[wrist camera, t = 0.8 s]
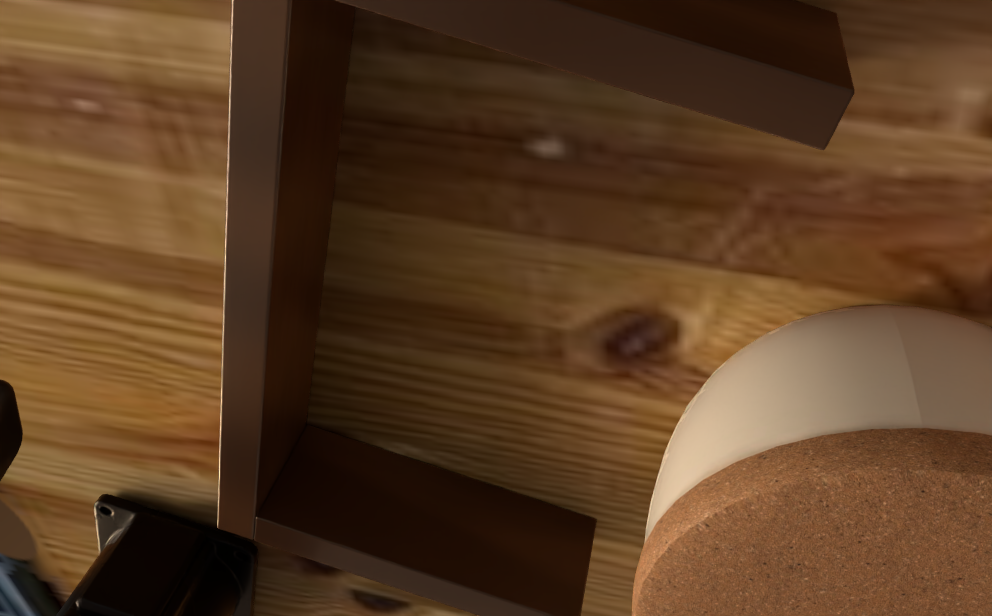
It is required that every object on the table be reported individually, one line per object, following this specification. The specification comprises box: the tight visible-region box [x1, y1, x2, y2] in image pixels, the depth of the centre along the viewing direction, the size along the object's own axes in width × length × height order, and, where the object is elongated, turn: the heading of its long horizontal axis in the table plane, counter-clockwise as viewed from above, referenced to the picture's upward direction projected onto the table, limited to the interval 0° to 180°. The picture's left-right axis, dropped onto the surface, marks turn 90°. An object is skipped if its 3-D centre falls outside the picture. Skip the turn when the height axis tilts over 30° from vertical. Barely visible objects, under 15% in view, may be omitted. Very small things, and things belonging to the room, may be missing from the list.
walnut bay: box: [217, 0, 854, 616], centre depth 23 cm, size 18×11×4 cm, turn 168°
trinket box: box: [632, 305, 992, 616], centre depth 20 cm, size 11×11×9 cm
